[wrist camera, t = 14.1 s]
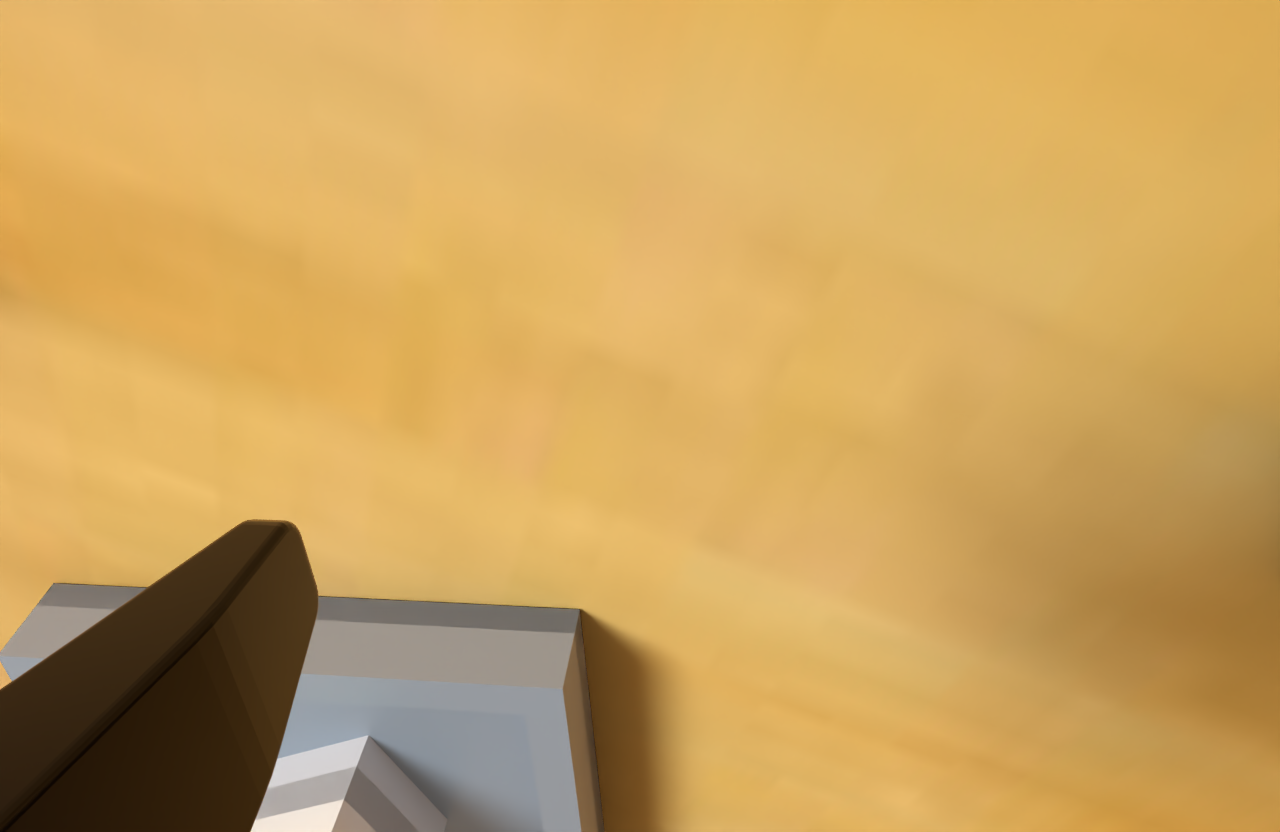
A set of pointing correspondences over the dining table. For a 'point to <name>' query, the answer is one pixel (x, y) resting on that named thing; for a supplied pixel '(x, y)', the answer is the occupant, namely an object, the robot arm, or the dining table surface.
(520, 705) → the tray
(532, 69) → the dining table surface
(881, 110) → the dining table surface
